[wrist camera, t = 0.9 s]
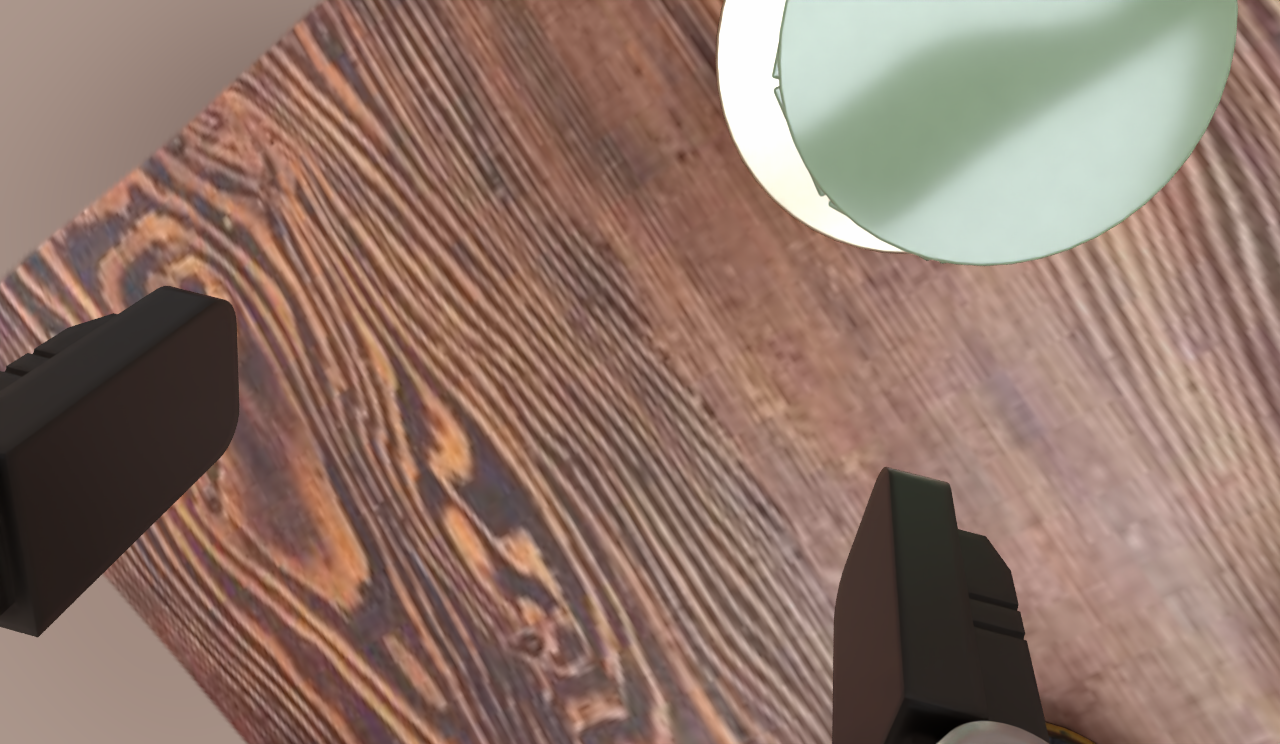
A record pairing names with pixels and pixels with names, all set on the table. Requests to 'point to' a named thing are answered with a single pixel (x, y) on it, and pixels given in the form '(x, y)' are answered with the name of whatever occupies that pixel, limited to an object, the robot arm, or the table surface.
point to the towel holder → (771, 121)
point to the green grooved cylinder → (998, 114)
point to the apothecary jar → (1064, 736)
